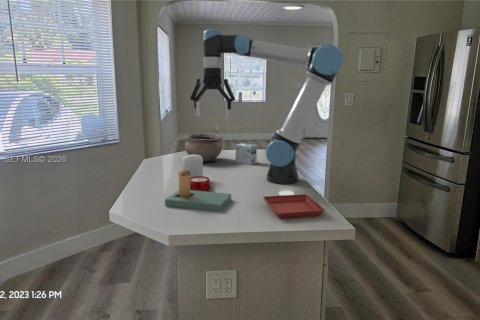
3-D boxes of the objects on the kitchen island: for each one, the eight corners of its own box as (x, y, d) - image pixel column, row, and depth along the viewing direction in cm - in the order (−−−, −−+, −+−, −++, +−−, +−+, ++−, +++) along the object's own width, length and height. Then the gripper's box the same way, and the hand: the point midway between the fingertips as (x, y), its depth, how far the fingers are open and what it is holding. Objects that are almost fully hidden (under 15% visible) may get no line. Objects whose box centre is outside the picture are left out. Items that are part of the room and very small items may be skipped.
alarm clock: (210, 175, 171) (211, 177, 156) (210, 189, 171) (211, 191, 156) (187, 176, 170) (186, 177, 155) (187, 190, 170) (186, 192, 155)
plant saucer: (325, 218, 130) (325, 209, 130) (276, 221, 127) (276, 212, 126) (305, 201, 148) (306, 193, 147) (262, 204, 144) (262, 196, 143)
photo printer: (200, 177, 181) (199, 152, 178) (204, 179, 178) (204, 154, 175) (180, 180, 175) (180, 155, 173) (184, 182, 172) (184, 156, 169)
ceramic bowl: (202, 155, 234) (202, 131, 231) (230, 160, 221) (230, 135, 218) (177, 161, 216) (176, 136, 213) (205, 166, 204) (205, 139, 200)
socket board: (231, 199, 148) (231, 193, 148) (220, 211, 135) (220, 204, 134) (180, 194, 154) (180, 189, 153) (165, 205, 141) (164, 199, 140)
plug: (192, 200, 148) (191, 170, 145) (187, 203, 143) (187, 173, 141) (182, 199, 149) (181, 169, 146) (177, 202, 144) (176, 172, 142)
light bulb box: (256, 163, 214) (257, 144, 212) (251, 165, 209) (251, 146, 206) (241, 160, 220) (241, 142, 217) (235, 162, 214) (235, 144, 212)
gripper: (242, 67, 161) (241, 116, 166) (189, 67, 168) (189, 114, 172) (237, 67, 154) (237, 118, 159) (182, 67, 160) (183, 116, 165)
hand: (212, 116), depth 165 cm, fingers open, 13 cm apart
